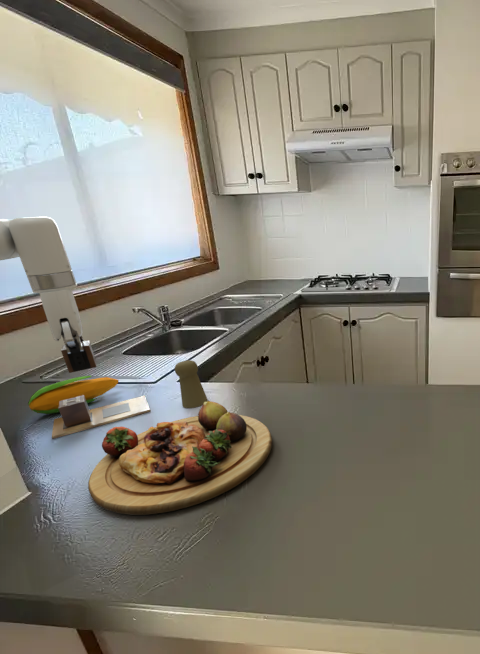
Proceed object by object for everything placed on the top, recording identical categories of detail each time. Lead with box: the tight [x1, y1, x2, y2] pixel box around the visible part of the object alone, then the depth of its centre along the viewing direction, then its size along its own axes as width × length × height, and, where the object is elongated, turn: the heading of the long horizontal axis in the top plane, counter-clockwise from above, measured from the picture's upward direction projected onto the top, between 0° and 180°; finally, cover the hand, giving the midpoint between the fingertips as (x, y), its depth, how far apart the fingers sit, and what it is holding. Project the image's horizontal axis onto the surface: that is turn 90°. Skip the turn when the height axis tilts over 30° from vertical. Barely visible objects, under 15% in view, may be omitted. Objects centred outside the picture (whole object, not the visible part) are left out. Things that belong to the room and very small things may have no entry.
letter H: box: [58, 395, 91, 427], centre depth 99 cm, size 5×5×5 cm
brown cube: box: [60, 340, 97, 374], centre depth 91 cm, size 5×5×5 cm
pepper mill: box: [174, 359, 209, 409], centre depth 104 cm, size 6×6×11 cm
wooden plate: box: [87, 400, 273, 516], centre depth 79 cm, size 32×32×8 cm
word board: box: [51, 394, 151, 440], centre depth 103 cm, size 20×11×1 cm, turn 123°
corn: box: [27, 374, 119, 415], centre depth 110 cm, size 7×8×20 cm
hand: (82, 365), depth 92 cm, fingers closed on brown cube, 5 cm apart
